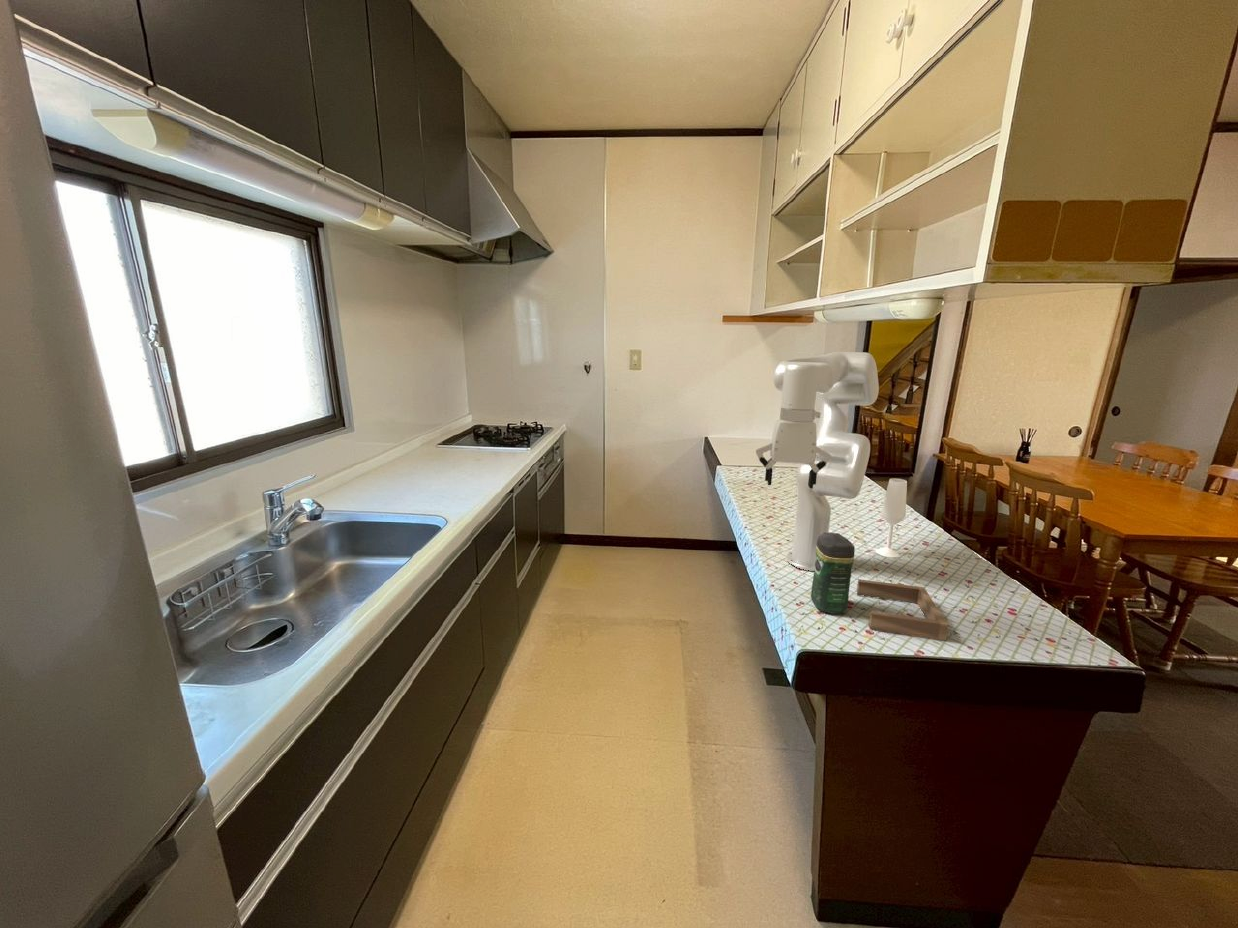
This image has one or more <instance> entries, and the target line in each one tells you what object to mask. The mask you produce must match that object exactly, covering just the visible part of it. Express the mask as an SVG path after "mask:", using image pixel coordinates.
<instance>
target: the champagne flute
mask: <svg viewBox="0 0 1238 928" xmlns="http://www.w3.org/2000/svg"><path fill="white" fill-rule="evenodd" d="M887 483H888V484H887V486H886V487H887V488H886V492H885V496H884V498H883V503H882V507H881V511H880V515H881V516H882V519H883V520H885V521H886V523H887V524H889V525H888V526H889V527H888V532H887V537H886V546H884V547H881V548H880V547H879V548H878V549H877V548H876V549H875V553H876V554H878V555H880V556H883V557H886V558H887V557H888V558H898V557H900V554H899V552H897V551H896V550H895V549H893V548H892V547H891V546H892V540H893V534H894V533H893V531H894V526H895V525H897V524H900V523H901V522H902V521H903V520H904V519H905V518H906V517H907V516H906V515H907V514H906V512H907V511H906V510H907V489H908V481H907V480H906V479H903V478H895V477H894V478H889V479H888V482H887Z"/></svg>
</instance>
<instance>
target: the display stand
mask: <svg viewBox="0 0 1238 928" xmlns="http://www.w3.org/2000/svg"><path fill="white" fill-rule="evenodd" d="M856 585H857V586H856V592H857V593H856V595H857V596H858V595H864V596H863V597H865V596H870V597H869V598H873V597H879V598H878V599H880V598H885V599H884V600H888V599H892V600H891V601H895V600H900V601H899V602H903V601H907V602H906V603H910V602H914V603H913V604H916V605H917V604H918V605H917V606H918V608H919V607H920V608H919V610H920V609H921V610H920V612H921V613H922V612H923V613H922V615H923V614H924V615H923V616H925V617H917V616H910V615H903V614H897V613H889V612H882V611H877V610H876V611H875V610H870V614H869V619H868V620H869V621H868V628H870V629H872V631H877V630H878V631H877V632H883V631H884V632H885V633H891V634H898V635H903V636H904V635H905V636H912V637H918V638H925V639H931V640H937V639H939V640H938V641H944V640H947V637H948V636H947V635H948V629H949V623H948V622H947V620H946V619H945V617H944V616H943V614H942V613H941V611H940V610H939V608H938V606H937V605H936V603H935V601H934V600H933V599H932V597H931V595H930V594H929V593H928V591H927V590H926V587H924V586H915V585H908V584H901V583H892V582H884V581H877V580H876V581H875V580H867V579H859V578H858V580H857V584H856ZM870 629H869V630H870Z"/></svg>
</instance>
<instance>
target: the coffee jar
mask: <svg viewBox="0 0 1238 928" xmlns="http://www.w3.org/2000/svg"><path fill="white" fill-rule="evenodd" d="M855 549H856V548H855V545H854V544H853V543H852V542H851V541H850V540H849V539H848V538H847V537H845V536H843V535H842V534H840V533H837V532H828V533H823V534H821V535H820V536H819V537H818V540H817V544H816V561H815V568H814V571H813V577H812V583H811V593H810V599H811V602H812V604H814V606H815V607H816V608H817V610H819V611H821V612H826V613H828V614H837V615H838V614H842V613H846V612H847V610H848V604H849V596H850V586H851V578H852V577H851V576H852V569H853V564H854V560H855Z"/></svg>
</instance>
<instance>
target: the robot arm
mask: <svg viewBox="0 0 1238 928" xmlns="http://www.w3.org/2000/svg"><path fill="white" fill-rule="evenodd" d="M772 379H773V380H772V381H773V384H774V387H775V388H776V389H777V390H778V391H780V392H781V394H782V395H781V404H780V411H779V412H780V414H779V419H777V420H775V423H774V427H773V431H772V437H771V443H769V444H766V445H764V446H762V447H760V448H757V449H755V454H756V456H757V457H758V460H759V462H760V463H761V464H762V465H763V466H764V467H765V475H764V482H765V481H766V482H767V485H768V486H771V485H772V480H773V466H774V465H775V464H776V463H780V464H793V465H795V464H796V465H798V467H797V470H796V474H795V475H796V478H795V480H796V490H797V491H796V492H797V494H796V495H797V496H796V511H795V518H794V519H795V521H794V527H793V528H794V529H793V541H792V548H791V551H790V552H788V553H787V554H786V556H785V560H786V562H787V561H788V562H789V563H790V564H789V563H788V562H787V563H788V564H789V565H791V564H792V565H794V566H795V567H794V566H793V567H794V568H796V567H797V569H799V568H800V570H803V569H804V570H803V571H808V570H809V571H808V572H814V568H815V561H816V544H817V540H818V537H819V536H820V535H821V534H823V533H830V532H829V530H830V522H831V514H832V510H831V504H830V503H829V500H828V499H827V497H828V496H829V497H834V498H840V499H845V500H852V499H855V498H857V497H858V495H859V494H860V492H861V490H862V486H863V482H864V478H865V475H866V471H867V467H868V463H869V458H870V454H871V443H870V440H869V438H868V437H867V436H866V435H864V434H859V433H854V432H853V433H852V432H848V430H849V426H850V421H849V419H848V416H847V415H846V413H845V411H843V410H842V408H840V407H839V406H838V405H847V406H865V407H867V406H871V405H873V404H874V403H876V401H877V399H878V396H879V390H880V385H879V377H878V368H877V363H876V360H875V358H874V356H873V355H872V354H871V353H869V352H866V351H865V352H862V351H861V352H860V351H854V352H853V351H832V352H829V353H826V354H823V355H814V356H807V357H800V358H791V359H785V360H783V361H781V362H780V363H779V364H777V366H776V367H775V370H774V372H773V378H772ZM816 405H817V411H816V410H815V407H816ZM815 419H819V420H818V423H816V422H814V421H815ZM768 451H770V458H769V459H768V460H767V459H766V458H765V457H764V453H766V452H768ZM792 565H791V566H792Z"/></svg>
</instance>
